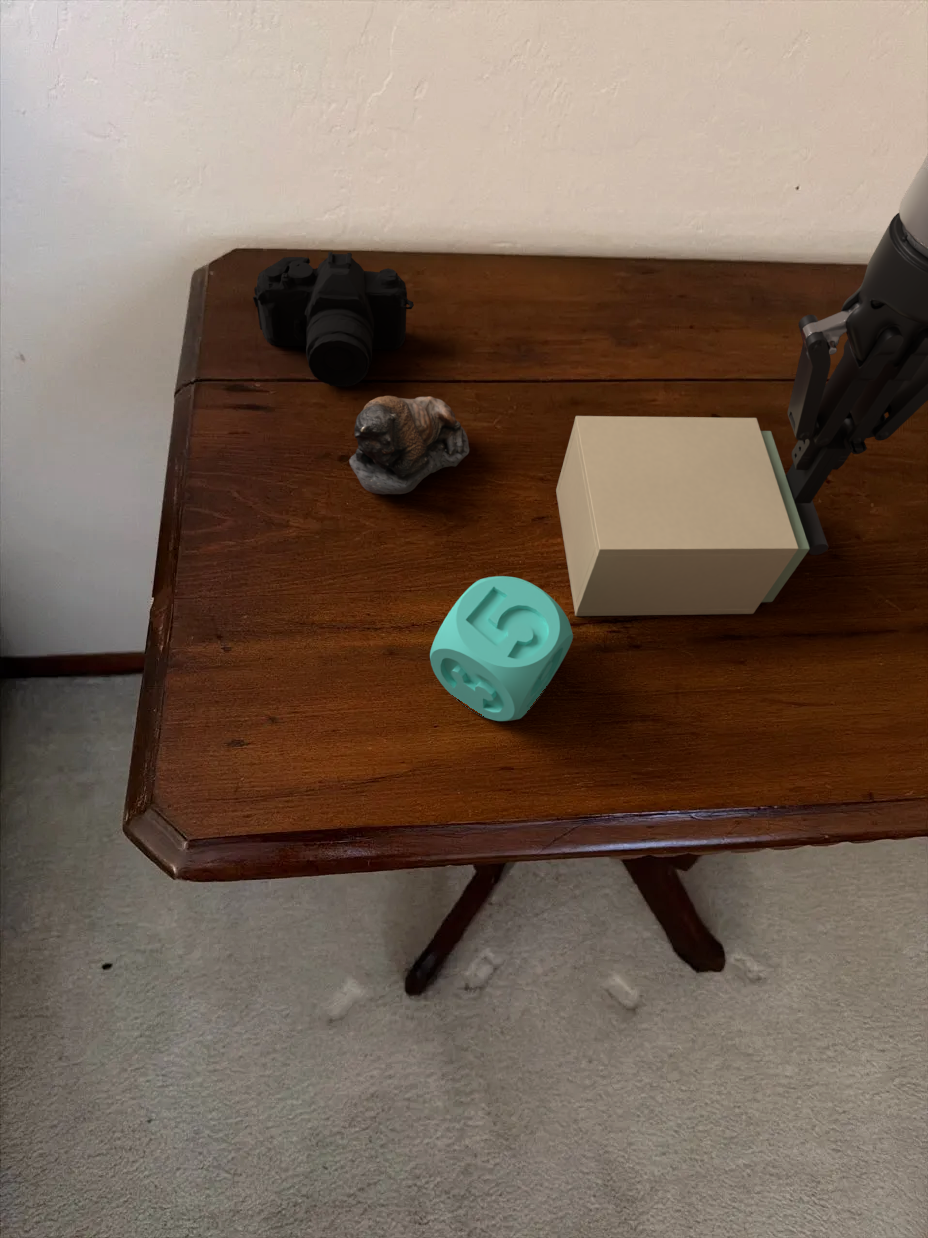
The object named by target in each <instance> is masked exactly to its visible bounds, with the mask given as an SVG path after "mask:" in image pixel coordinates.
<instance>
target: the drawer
mask: <svg viewBox="0 0 928 1238" xmlns="http://www.w3.org/2000/svg"><path fill="white" fill-rule="evenodd" d="M760 431H761V434H762V437H763V440H764V443H765V446H766V449H767V452H768V455H769V459H770V462H771V465H772V468H773V471H774V474H775V477H776V480H777V483H778V486H779V490H780V493H781V496H782V499H783V502H784V505H785V508H786V511H787V514H788V518H789V521H790V524H791V527H792V530H793V533H794V536H795V539H796V542H797V545H798V550H797V551H796V553H795V554H794V555H793V557H792V558H791V560H790V561H789V563H788V564H787V566H786V567H785V568H784V570H783V571H782V573H781V574H780V576H779V577H778V579H777V580H776V581H775V583H774V584H773V586H772V587H771V589H770V590H769V592H768V593H767V594H766V596H765V597H764V599H763V600H762V602H761V603H772V602H773V601H774V600H775V598H776V597H777V596H778V594H779V593H780V591H781V590H782V589H783V587H784V586H785V585H786V583H787V582H788V580H789V579H790V578H791V576H792V575H793V573H794V572H795V571H796V569H797V567H798V566H799V565H800V564H801V562H802V561H803V559H804V558H805V557H806V555H807V554H809V555H811V556H819V555H822V554H824V553H826V552H827V551H828V549H829V544H828V542H827V539H826V536H825V533H824V530H823V527H822V524H821V521H820V518H819V515H818V513H817V510H816V507H815V504H814V501H813V500H814V499H813V500H812V501H811V503H795V502H794V499H793V496H792V493H791V490H790V487H789V484H788V481H787V478H786V473H785V470H784V466H783V464H782V461H781V458H780V454H779V451H778V448H777V445H776V442H775V439H774V436H773V434H772V433H773V432H772V431H771V430H760Z"/></svg>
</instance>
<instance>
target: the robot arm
mask: <svg viewBox="0 0 928 1238" xmlns="http://www.w3.org/2000/svg"><path fill="white" fill-rule="evenodd" d="M798 329H799V332H800V336H801V341H802V346H801V349H800V355H799V359H798V364H797V368H796V373H795V378H794V382H793V386H792V391H791V395H790V400H789V404H788V409H787V416H788V417H787V418H788V419H789V422H790V426H791V428H792V431H793V434H794V437H795V439H796V440H797V442H796V443H795V446H794V447H793V449H792V451H791V459H792V464H791V465H790V467H789V469H788V471H787V472H786V473H785V475H786V478H787V481H788V484H789V487H790V490H791V493H792V496H793V499H794V502H795V503H811V501H812V500H814V498H815V496H816V495H817V494H818V492H819V491H820V489H821V488H822V486H823V485H824V483H825V481H826V480H827V478H828V477H829V475H830V474H831V472H832V471H833V470H835V471H837V470H839V469H840V468H841V467H842V466H843V465H844V464H845V462H846V461H847V460H848V458H849V456H850V455H851V454H853V455H860V454H863V453H864V452H866V451H867V450H868V446H867V444H866V442H865V441H866V440H867V439H870V438H874V439H875V440H876V441H879V442H880V441H885V440H887V439H889V438H890V437H892V435H893V434H894V433H896V431H898V430H899V428H901V427H902V426H903V425H904V424H905V422H907V421H908V420H909V419H910V418H911V417H912V416H913V415H914V414H915V413H916V412H917V411H918V410H919V409H920V408H921V407H922V406H923V405H924V404H925V403H926V402H927V401H928V153H927V155H926V156H925V158H924V160H923V162H922V163H921V165H920V166H919V168H918V170H917V172H916V174H915V176H914V177H913V179H912V181H911V183H910V184H909V186H908V188H907V190H906V191H905V193H904V195H903V196H902V199H901V200H900V204H899V208H898V213H896V214H895V215H894V216H893V217H892V219H891V220H890V222H889V224H888V225H887V228H886V230H885V231H884V233H883V235H882V236H881V239H880V240H879V242H878V244H877V246H876V247H875V249H874V252H873V253H872V255H871V257H870V259H869V261H868V264H867V266H866V270H865V273H864V277H863V280H862V283H861V285H860V286H859V288H858V289H857V290H856V291H855V292H853V294H851V295H850V296H849V297H847V299H846V300H845V301H844V303H843V304H842V306H841V309H840V312H836V313H835V314H832V315H830V316H828V317H827V316H826V317H825V318H823V319H820V320H818V317H817V316H816V315H814V314H807V315H804V316H803V317H802V318H800V319H799V321H798ZM844 334H846V337H847V340H845V341H846V342H844V345H843V354H842V356H841V358H840V360H839V362H838V363H837V365H836V367H835V369H834V370H833V371H832V374H831V376H830V377H829V373H830V371H831V370H830V369H831V364H832V363H831V362H832V359H831V355H835V354H836V353H837V352H838V348H837V346H838V345H839V344H840V338H841V337H842V336H843V335H844ZM828 377H829V378H828ZM886 414H888V415H887V416H886Z"/></svg>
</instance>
